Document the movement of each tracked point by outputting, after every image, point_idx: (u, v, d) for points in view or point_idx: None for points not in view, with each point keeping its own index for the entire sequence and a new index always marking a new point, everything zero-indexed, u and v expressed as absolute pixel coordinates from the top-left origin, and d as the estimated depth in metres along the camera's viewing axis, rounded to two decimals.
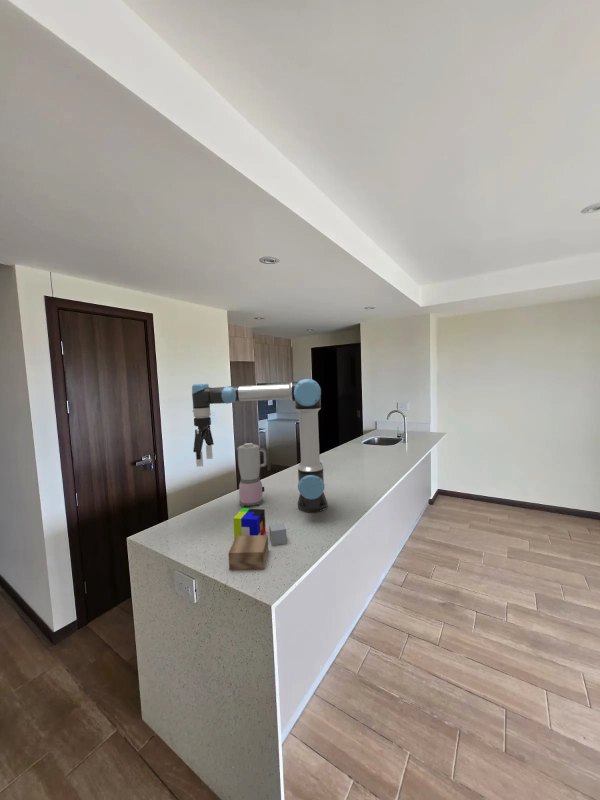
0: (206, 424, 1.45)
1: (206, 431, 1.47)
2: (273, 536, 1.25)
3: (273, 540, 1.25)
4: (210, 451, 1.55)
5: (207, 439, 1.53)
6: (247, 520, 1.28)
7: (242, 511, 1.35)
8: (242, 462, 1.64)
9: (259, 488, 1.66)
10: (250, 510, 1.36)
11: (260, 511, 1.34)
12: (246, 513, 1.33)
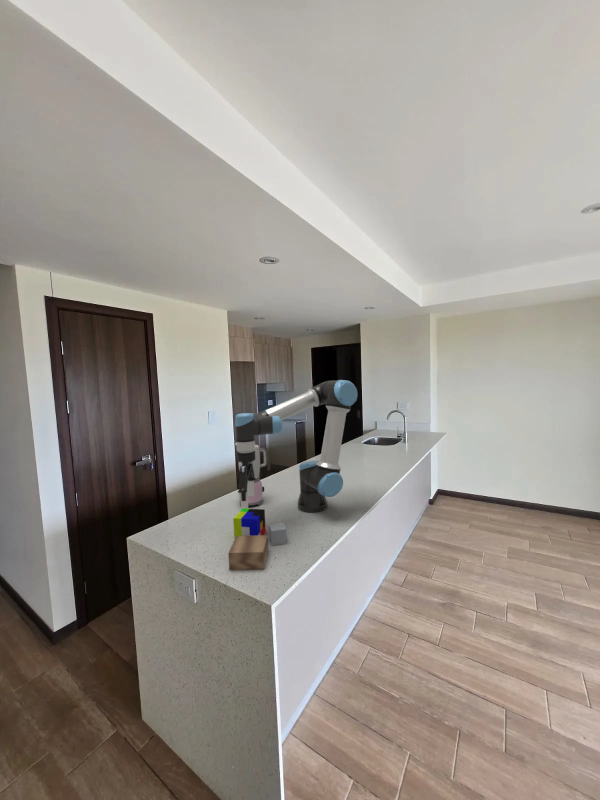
0: (251, 460, 1.29)
1: (250, 467, 1.30)
2: (273, 536, 1.25)
3: (273, 540, 1.25)
4: (252, 488, 1.38)
5: (249, 475, 1.36)
6: (247, 520, 1.28)
7: (242, 511, 1.35)
8: None
9: (259, 488, 1.66)
10: (250, 510, 1.36)
11: (260, 511, 1.34)
12: (246, 513, 1.33)
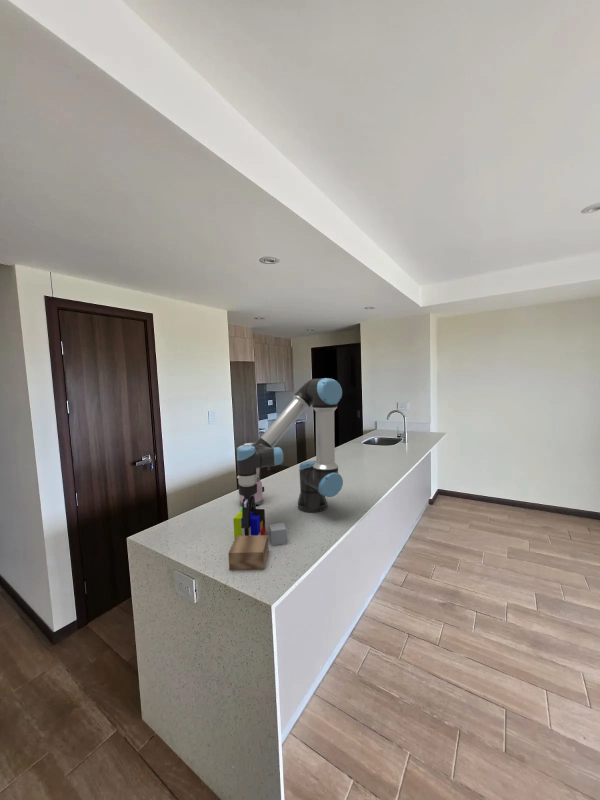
0: (253, 493, 1.29)
1: (252, 500, 1.31)
2: (273, 536, 1.25)
3: (273, 540, 1.25)
4: None
5: (251, 508, 1.37)
6: None
7: None
8: None
9: (259, 488, 1.66)
10: None
11: (260, 511, 1.35)
12: None
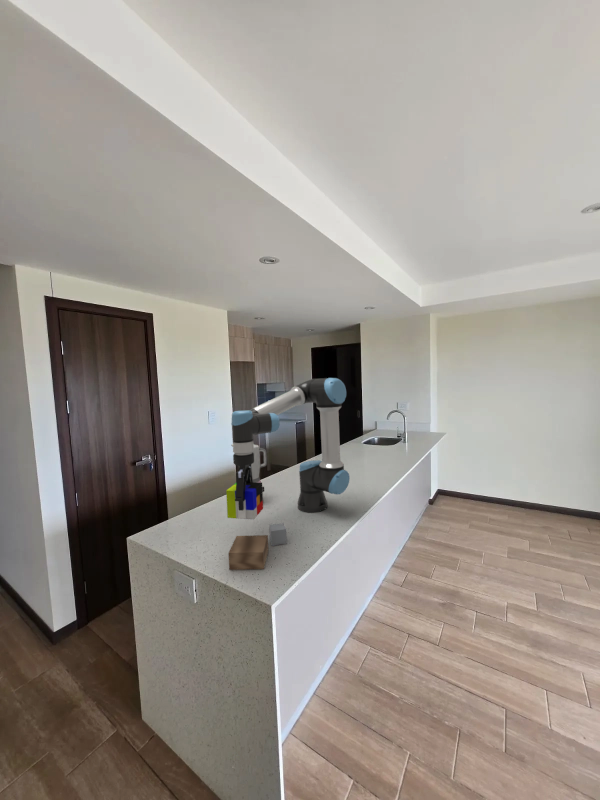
0: (249, 463, 1.14)
1: (248, 471, 1.16)
2: (273, 536, 1.25)
3: (273, 540, 1.25)
4: None
5: (247, 481, 1.22)
6: None
7: None
8: None
9: None
10: (246, 483, 1.21)
11: (257, 484, 1.19)
12: None
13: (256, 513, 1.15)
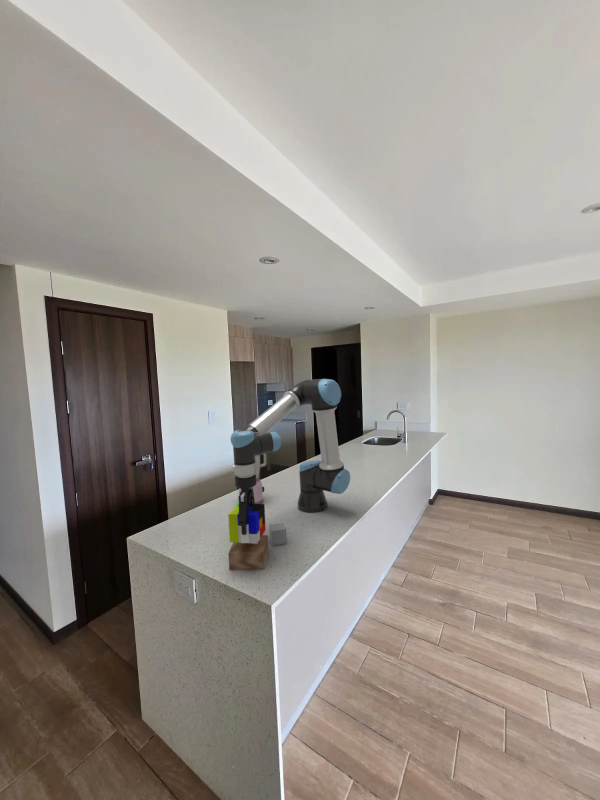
0: (251, 485, 1.12)
1: (251, 493, 1.14)
2: (273, 536, 1.25)
3: (273, 540, 1.25)
4: None
5: (249, 502, 1.19)
6: None
7: None
8: None
9: (259, 488, 1.66)
10: None
11: (259, 506, 1.17)
12: None
13: (259, 536, 1.12)
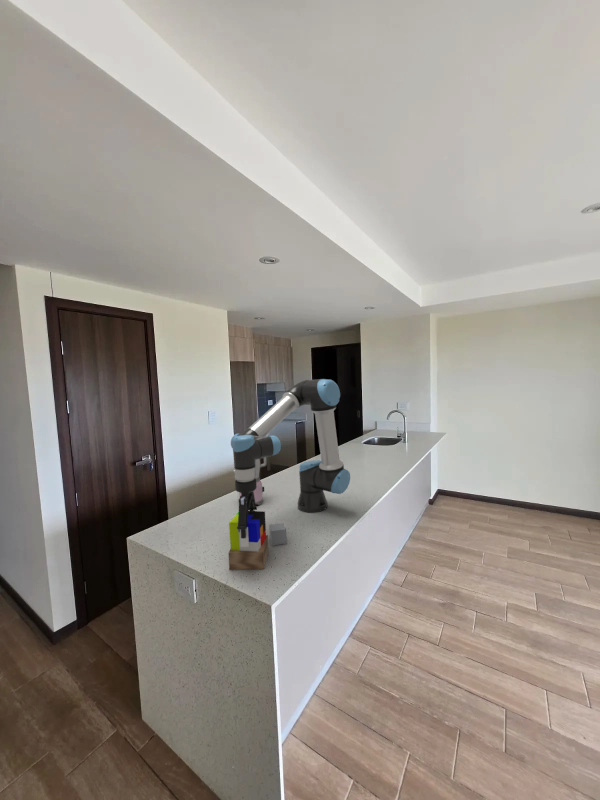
0: (252, 489, 1.12)
1: (251, 497, 1.14)
2: (273, 536, 1.25)
3: (273, 540, 1.25)
4: None
5: (250, 504, 1.20)
6: None
7: None
8: None
9: (259, 488, 1.66)
10: (248, 513, 1.19)
11: (260, 514, 1.17)
12: None
13: (260, 544, 1.13)
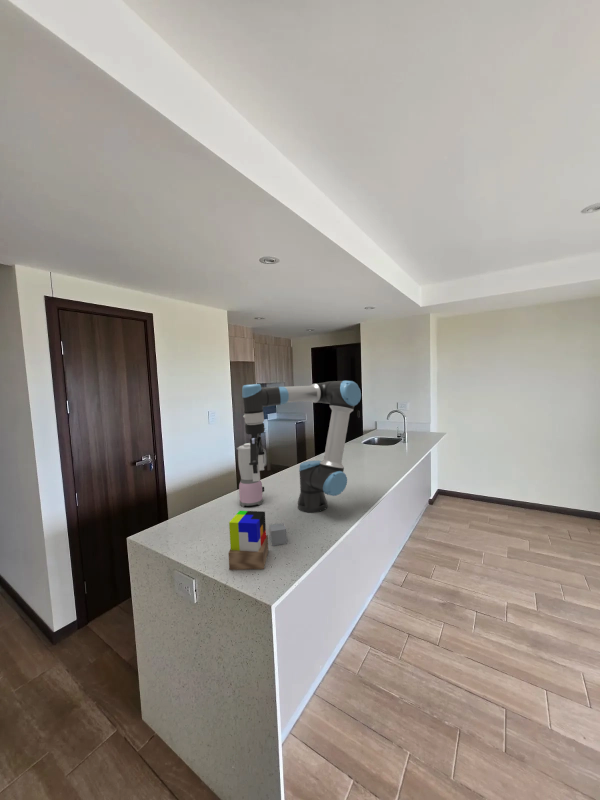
0: (261, 431, 1.24)
1: (260, 439, 1.26)
2: (273, 536, 1.25)
3: (273, 540, 1.25)
4: (261, 462, 1.34)
5: (258, 448, 1.32)
6: (245, 524, 1.10)
7: (239, 514, 1.18)
8: (242, 462, 1.64)
9: (259, 488, 1.66)
10: (248, 513, 1.19)
11: (260, 514, 1.17)
12: (244, 516, 1.16)
13: (260, 544, 1.13)
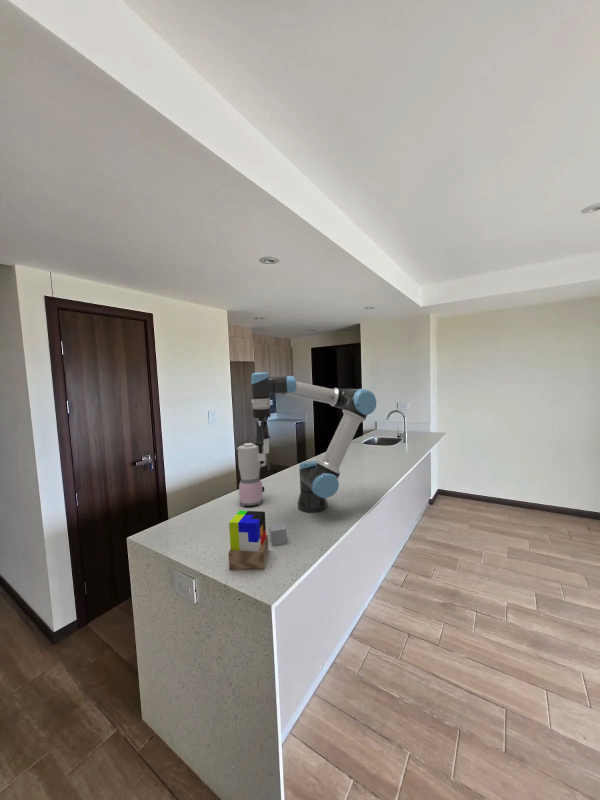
0: (267, 416, 1.35)
1: (266, 423, 1.37)
2: (273, 536, 1.25)
3: (273, 540, 1.25)
4: (267, 446, 1.45)
5: (264, 432, 1.43)
6: (245, 524, 1.10)
7: (239, 514, 1.18)
8: (242, 462, 1.64)
9: (259, 488, 1.66)
10: (248, 513, 1.19)
11: (260, 514, 1.17)
12: (244, 516, 1.16)
13: (260, 544, 1.13)
